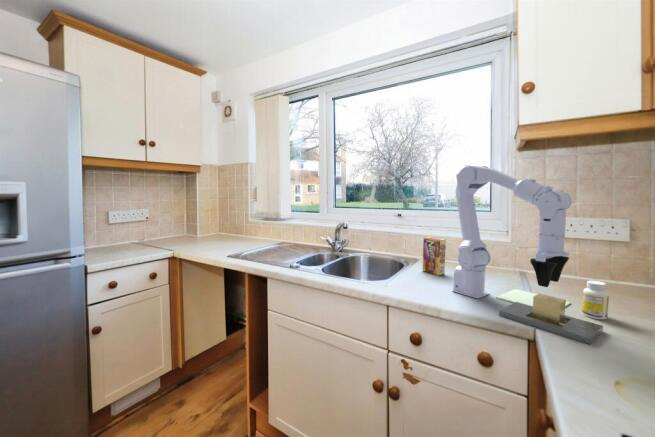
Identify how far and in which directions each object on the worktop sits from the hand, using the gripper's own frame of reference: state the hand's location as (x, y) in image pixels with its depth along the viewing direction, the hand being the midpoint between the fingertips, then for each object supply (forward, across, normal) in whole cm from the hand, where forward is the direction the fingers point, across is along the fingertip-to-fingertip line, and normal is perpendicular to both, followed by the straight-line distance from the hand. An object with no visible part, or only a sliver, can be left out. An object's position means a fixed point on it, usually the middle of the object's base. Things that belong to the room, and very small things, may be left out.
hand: (548, 283), depth 81 cm
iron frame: (+10, -3, -1) cm, 11 cm away
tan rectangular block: (+10, -3, -1) cm, 11 cm away
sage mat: (+10, +12, +8) cm, 17 cm away
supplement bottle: (+10, +13, -8) cm, 18 cm away
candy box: (+10, +16, +46) cm, 50 cm away
